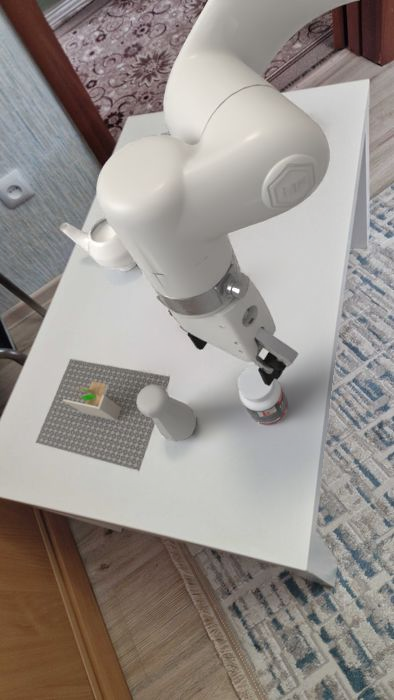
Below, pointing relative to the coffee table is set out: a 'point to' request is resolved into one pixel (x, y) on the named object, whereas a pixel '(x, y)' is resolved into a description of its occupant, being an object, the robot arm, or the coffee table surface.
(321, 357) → the coffee table surface
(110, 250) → the teapot
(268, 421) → the pill bottle
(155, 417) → the salt shaker
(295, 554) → the coffee table surface
